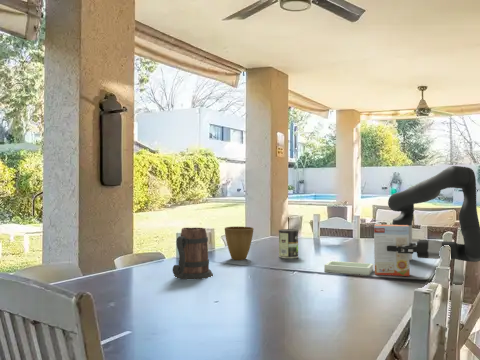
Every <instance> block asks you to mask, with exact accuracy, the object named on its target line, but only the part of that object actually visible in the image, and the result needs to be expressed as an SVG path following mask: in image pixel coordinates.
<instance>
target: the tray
mask: <svg viewBox="0 0 480 360" xmlns="http://www.w3.org/2000/svg"><path fill="white" fill-rule="evenodd" d="M323 265H324V273H336V274H347V275H348V274H349V275H359V274H360V275H361V276H370V275H371V274H372V273H373V272H374V263H370V262H369V263H366V262H351V261H340V260H339V261H338V260H337V261H335V260H330V261H328V262H326V263H325V264H323ZM372 271H373V272H372ZM371 272H372V273H371ZM360 275H359V276H360Z"/></svg>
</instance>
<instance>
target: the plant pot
mask: <svg viewBox="0 0 480 360" xmlns="http://www.w3.org/2000/svg"><path fill="white" fill-rule="evenodd" d="M253 234H254V227H252V226H225V227H224V235H225V240H226V245H227V248H228V252H229V254H230V258H231V260H233V259H234V261H244V259H245V260H246V259H248V258H247V257H248V255H249V252H250V248H251V246H252V240H253Z"/></svg>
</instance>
